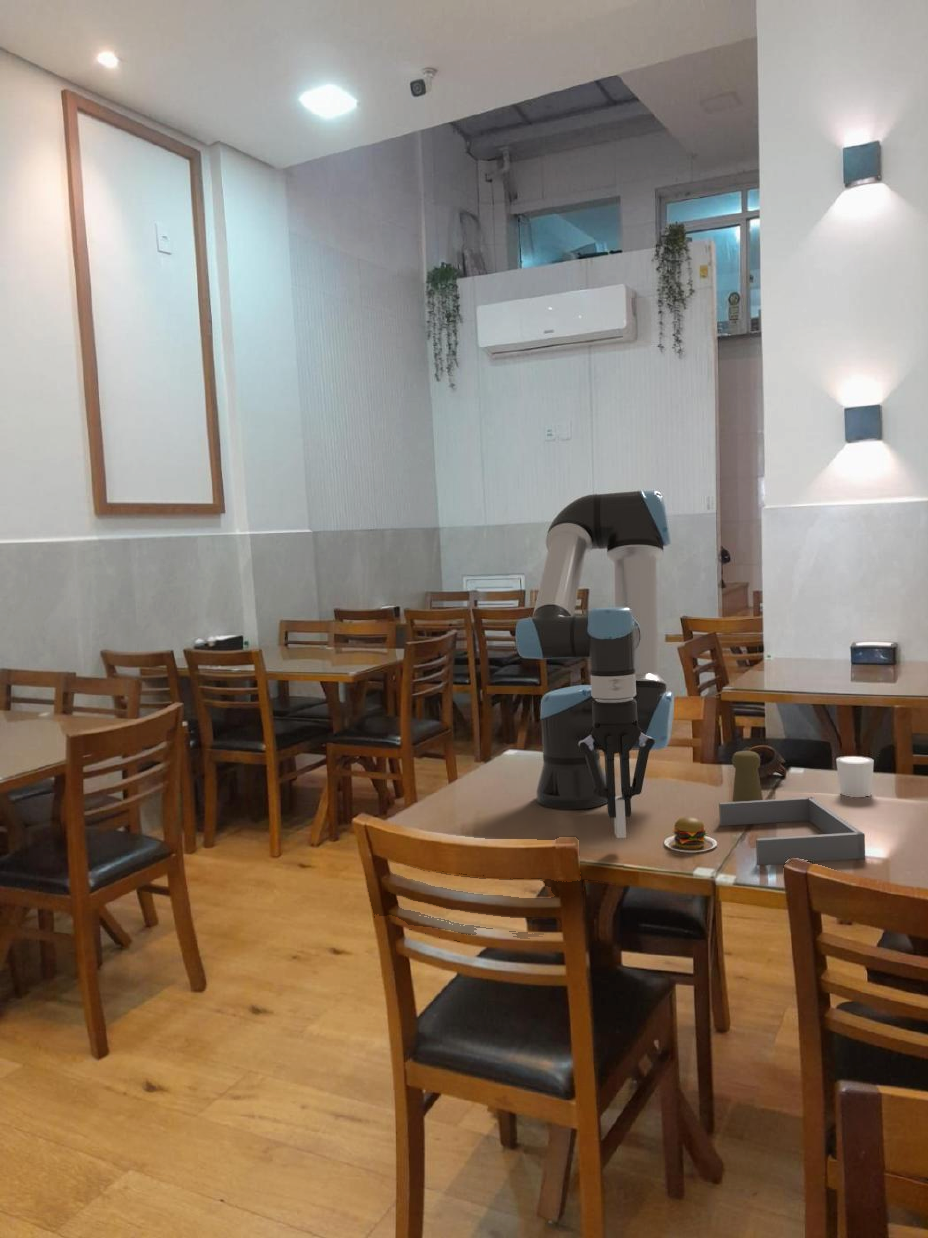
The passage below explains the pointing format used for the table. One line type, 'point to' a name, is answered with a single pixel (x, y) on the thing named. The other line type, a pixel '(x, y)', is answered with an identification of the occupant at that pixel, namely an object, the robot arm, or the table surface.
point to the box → (831, 846)
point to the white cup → (855, 775)
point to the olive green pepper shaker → (746, 777)
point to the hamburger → (689, 835)
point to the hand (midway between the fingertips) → (620, 835)
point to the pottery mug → (768, 761)
